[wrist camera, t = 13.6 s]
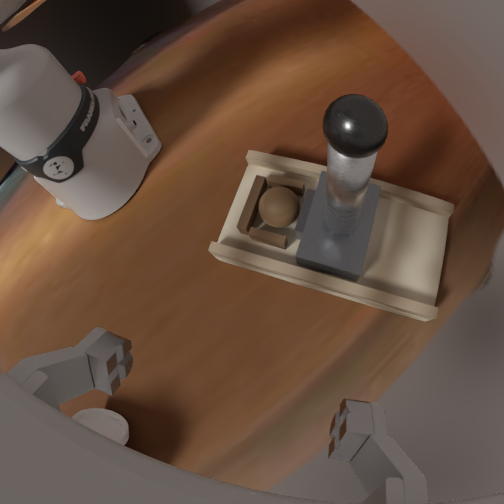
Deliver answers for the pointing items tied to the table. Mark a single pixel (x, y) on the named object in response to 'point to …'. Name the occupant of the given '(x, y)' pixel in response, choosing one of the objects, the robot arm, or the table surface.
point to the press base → (378, 252)
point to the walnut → (279, 207)
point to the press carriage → (343, 190)
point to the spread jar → (104, 423)
